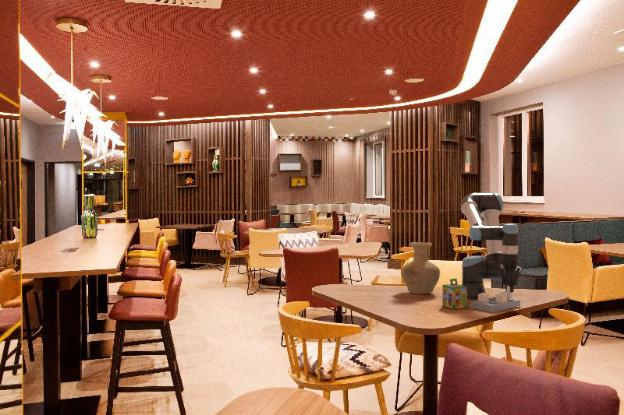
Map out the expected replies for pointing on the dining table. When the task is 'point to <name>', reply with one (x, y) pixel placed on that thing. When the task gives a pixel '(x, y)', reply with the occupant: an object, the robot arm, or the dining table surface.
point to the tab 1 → (483, 298)
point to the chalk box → (454, 295)
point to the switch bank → (494, 305)
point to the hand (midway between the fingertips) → (509, 298)
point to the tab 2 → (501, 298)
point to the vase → (420, 271)
